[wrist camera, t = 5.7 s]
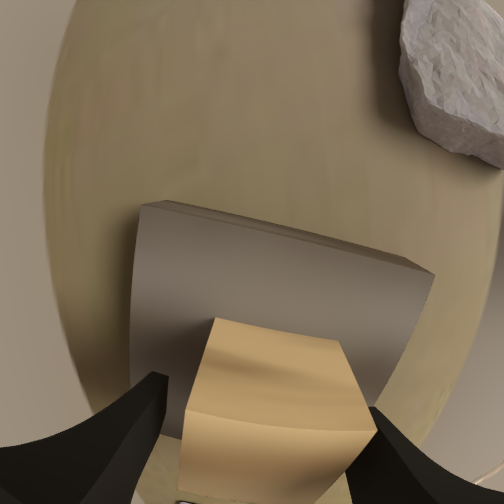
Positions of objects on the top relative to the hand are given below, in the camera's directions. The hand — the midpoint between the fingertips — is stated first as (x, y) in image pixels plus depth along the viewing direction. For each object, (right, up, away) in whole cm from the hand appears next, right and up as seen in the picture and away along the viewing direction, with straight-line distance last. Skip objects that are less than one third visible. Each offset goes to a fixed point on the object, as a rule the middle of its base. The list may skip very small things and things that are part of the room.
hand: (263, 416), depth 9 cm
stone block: (+12, +17, +2) cm, 21 cm away
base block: (0, +1, +5) cm, 5 cm away
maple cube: (0, 0, +2) cm, 2 cm away
